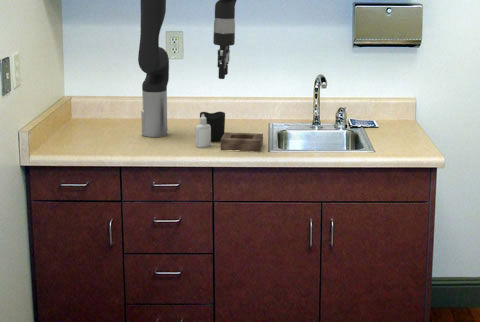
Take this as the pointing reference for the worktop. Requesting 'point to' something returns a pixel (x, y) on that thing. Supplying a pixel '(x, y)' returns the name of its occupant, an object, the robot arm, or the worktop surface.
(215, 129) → the pen holder
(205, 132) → the eye dropper bottle
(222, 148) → the recessed rectangular tray
